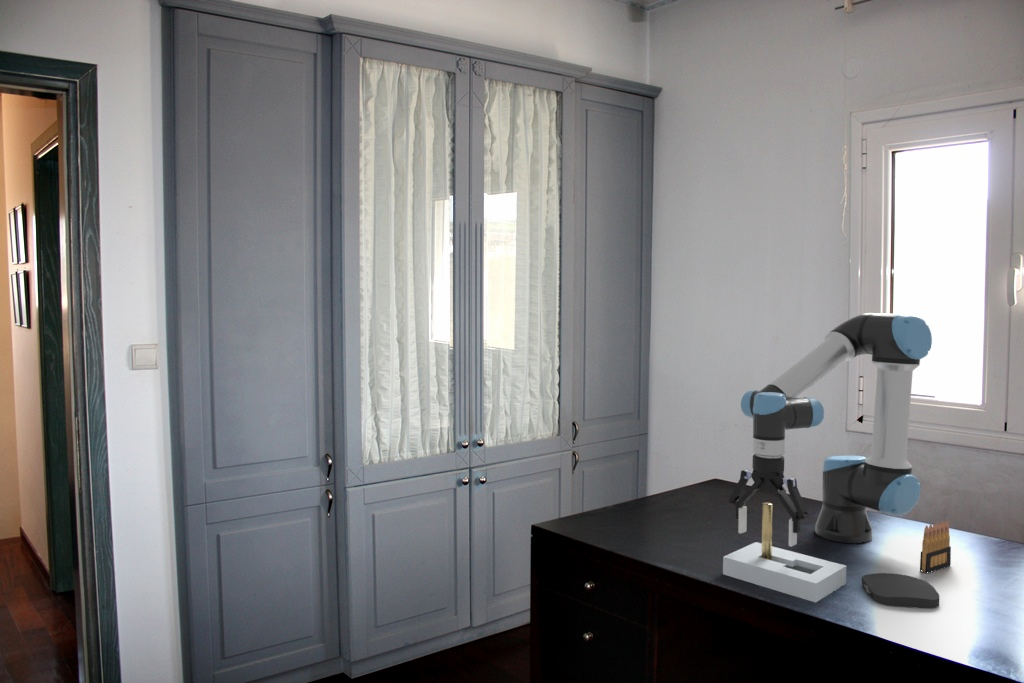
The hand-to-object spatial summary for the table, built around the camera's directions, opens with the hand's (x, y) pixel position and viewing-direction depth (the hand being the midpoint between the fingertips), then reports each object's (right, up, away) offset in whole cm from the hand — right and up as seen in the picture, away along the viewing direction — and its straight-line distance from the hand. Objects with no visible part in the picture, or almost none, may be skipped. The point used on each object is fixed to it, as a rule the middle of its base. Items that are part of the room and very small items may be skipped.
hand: (766, 538), depth 192 cm
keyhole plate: (+3, -9, -3) cm, 10 cm away
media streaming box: (+27, -11, -12) cm, 31 cm away
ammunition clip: (+44, -9, +4) cm, 45 cm away
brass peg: (0, -9, +1) cm, 9 cm away
